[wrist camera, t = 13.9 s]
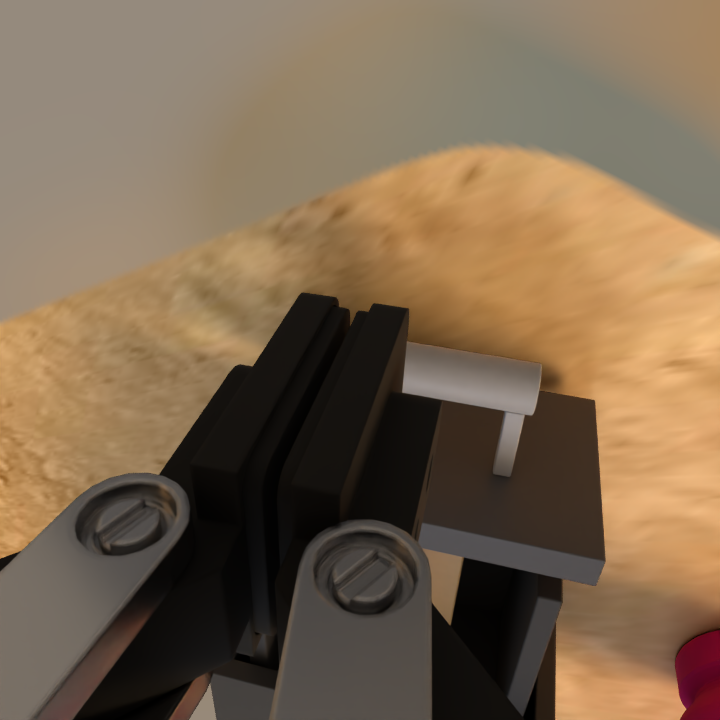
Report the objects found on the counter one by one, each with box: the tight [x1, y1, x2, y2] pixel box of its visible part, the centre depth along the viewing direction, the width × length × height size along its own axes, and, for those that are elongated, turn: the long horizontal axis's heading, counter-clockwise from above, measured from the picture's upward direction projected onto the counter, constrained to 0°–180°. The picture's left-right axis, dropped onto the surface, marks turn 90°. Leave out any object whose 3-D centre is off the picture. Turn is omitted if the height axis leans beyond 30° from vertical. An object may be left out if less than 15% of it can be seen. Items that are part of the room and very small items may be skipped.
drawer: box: [250, 341, 606, 717], centre depth 26 cm, size 18×12×8 cm
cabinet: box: [210, 623, 556, 720], centre depth 34 cm, size 15×14×10 cm
